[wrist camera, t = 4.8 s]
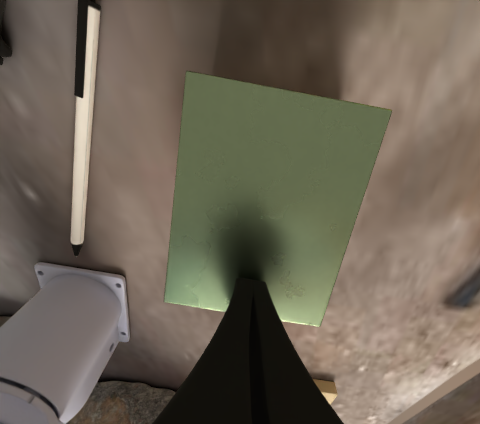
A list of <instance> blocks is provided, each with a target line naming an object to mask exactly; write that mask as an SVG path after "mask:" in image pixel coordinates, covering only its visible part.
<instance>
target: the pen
mask: <svg viewBox="0 0 480 424" xmlns="http://www.w3.org/2000/svg"><path fill="white" fill-rule="evenodd" d="M100 10H101V6H99V5H98V4H96V3H95V0H78V16H77V42H76V68H75V94H74V95H75V96H76V113H75V138H74V164H73V189H72V214H71V240H70V242H71V245H72V248H73V252H74V255H75V257H77V256H78V254H79V252H80V249H81V247H82V244H83V242H84V230H85V216H86V202H87V189H88V175H89V161H90V147H91V134H92V120H93V106H94V92H95V79H96V65H97V51H98V37H99V24H100Z"/></svg>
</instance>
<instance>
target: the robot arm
mask: <svg viewBox="0 0 480 424" xmlns="http://www.w3.org/2000/svg"><path fill="white" fill-rule="evenodd" d="M34 269H35V272H36V275H37V278H38V281H39V284H40V287H41V290H40V291H39V292H38V293H37V294H36V295H34V296H33V297H32V298H31V299H30V300H29V301H28V302H27V303H26V304H25V305H24V306H23V307H22V308H20V309H19V310H18V311H17V312H16V313H15V314H14V315H13V316H12V317H11V318H10V319H9V320H8V321H7V322H5V323H4V324H3V325H2V326H1V327H0V424H66V423H67V422H68V421H70V420H71V419H72V418H73V417H74V416H75V415H76V414H77V413H78V412H79V411H80V410H81V408H82V407H83V406H84V404H85V403H86V401H87V400H88V398H89V396H90V394H91V392H92V391H93V389H94V387H95V385H96V383H97V381H98V379H99V378H100V376H101V374H102V372H103V370H104V368H105V366H106V365H107V363H108V361H109V359H110V357H111V355H112V353H113V352H114V350H115V348H116V346H117V344H118V342H119V341H120V342H128V341H129V339H130V328H129V316H128V305H127V293H126V282H125V278H124V277H123V276H122V275H118V274H111V273H105V272H99V271H93V270H87V269H80V268H74V267H68V266H62V265H56V264H50V263H43V262H38V263H37V264H36V265H35V266H34ZM152 424H344V423H343V422H342V421H341V420H340V418H339V417H338V415H337V414H336V412H335V411H334V410H333V408H332V407H331V405H330V404H329V403H328V401H327V400H326V398H325V397H324V395H323V394H322V393H321V391H320V390H319V388H318V387H317V385H316V384H315V382H314V380H313V379H312V377H311V376H310V374H309V373H308V371H307V369H306V368H305V366H304V364H303V363H302V361H301V359H300V357H299V356H298V354H297V352H296V350H295V348H294V347H293V345H292V343H291V341H290V339H289V337H288V335H287V333H286V331H285V329H284V327H283V324H282V322H281V320H280V318H279V316H278V313H277V311H276V309H275V306H274V304H273V301H272V298H271V296H270V293H269V290H268V287H267V284H266V282H265V281H259V280H252V279H246V278H240V277H239V278H237V279H236V282H235V287H234V291H233V295H232V298H231V301H230V303H229V305H228V308H227V310H226V312H225V315H224V317H223V319H222V321H221V323H220V324H219V326H218V328H217V330H216V332H215V334H214V336H213V338H212V339H211V341H210V343H209V344H208V346H207V348H206V349H205V351H204V353H203V354H202V356H201V357H200V359H199V360H198V362H197V364H196V365H195V367H194V368H193V370H192V371H191V373H190V374H189V375H188V377H187V378H186V380H185V381H184V383H183V384H182V385H181V387H180V388H179V389H178V391H177V392H176V393H175V395H174V396H173V397H172V399H171V400H170V401H169V403H168V404H167V405H166V407H165V408H164V409H163V411H162V412H161V413H160V414H159V415H158V417H157V418H156V419H155V420H154V422H153V423H152Z"/></svg>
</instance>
